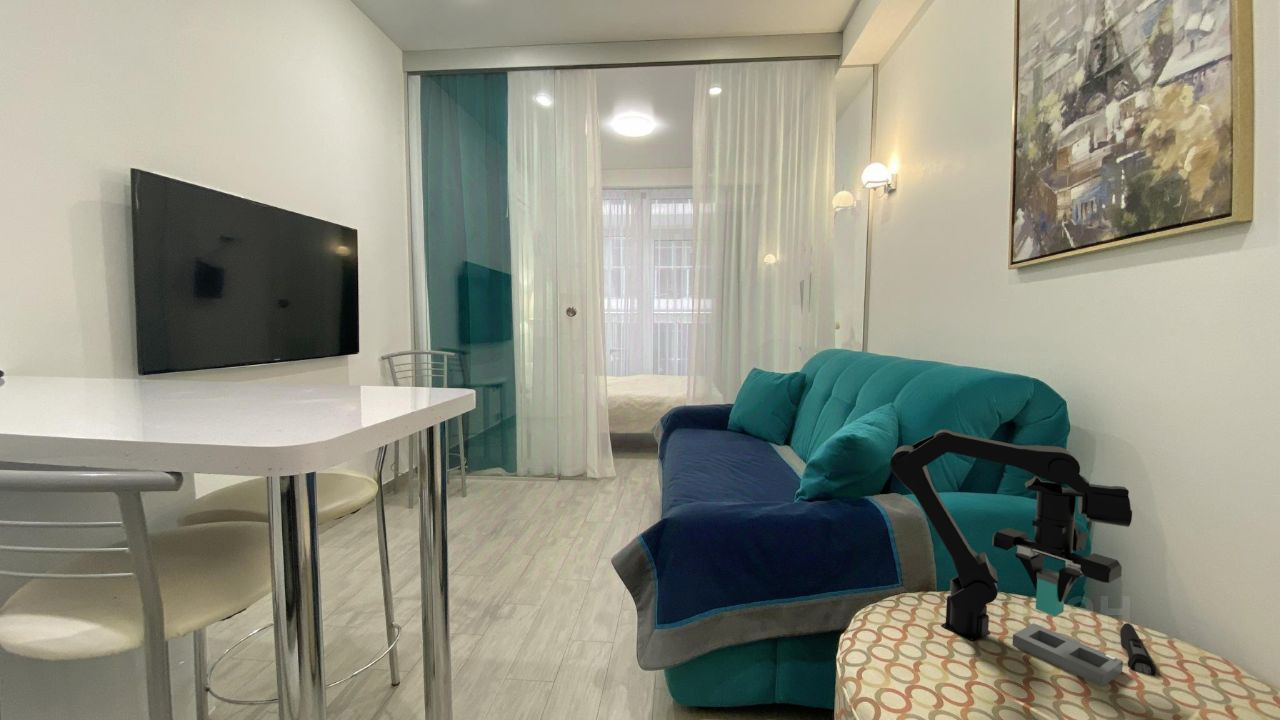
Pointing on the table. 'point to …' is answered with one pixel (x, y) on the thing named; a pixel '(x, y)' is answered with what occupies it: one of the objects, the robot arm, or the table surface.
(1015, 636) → the grey flat block
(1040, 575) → the plug
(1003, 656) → the table surface
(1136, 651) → the electric trimmer
